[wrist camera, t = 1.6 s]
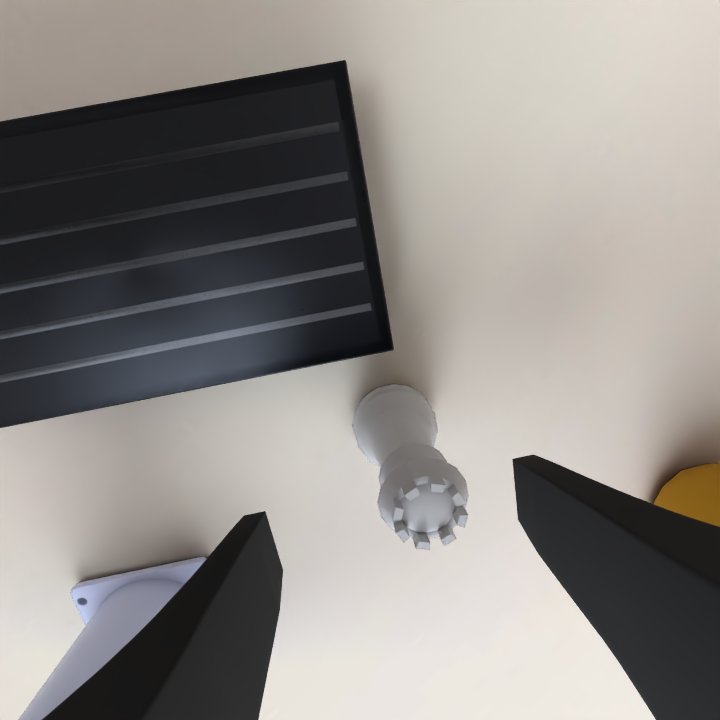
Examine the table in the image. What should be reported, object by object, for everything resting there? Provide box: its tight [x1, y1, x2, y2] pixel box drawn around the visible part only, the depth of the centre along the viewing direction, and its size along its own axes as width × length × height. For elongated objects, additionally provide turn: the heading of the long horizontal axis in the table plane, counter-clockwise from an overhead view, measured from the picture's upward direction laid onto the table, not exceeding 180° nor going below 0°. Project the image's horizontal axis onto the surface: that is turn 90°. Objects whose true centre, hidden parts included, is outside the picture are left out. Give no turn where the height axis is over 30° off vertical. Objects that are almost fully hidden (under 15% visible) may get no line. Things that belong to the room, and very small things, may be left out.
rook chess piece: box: [352, 384, 468, 550], centre depth 15 cm, size 4×4×8 cm
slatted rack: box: [0, 60, 394, 428], centre depth 15 cm, size 11×19×4 cm, turn 101°
